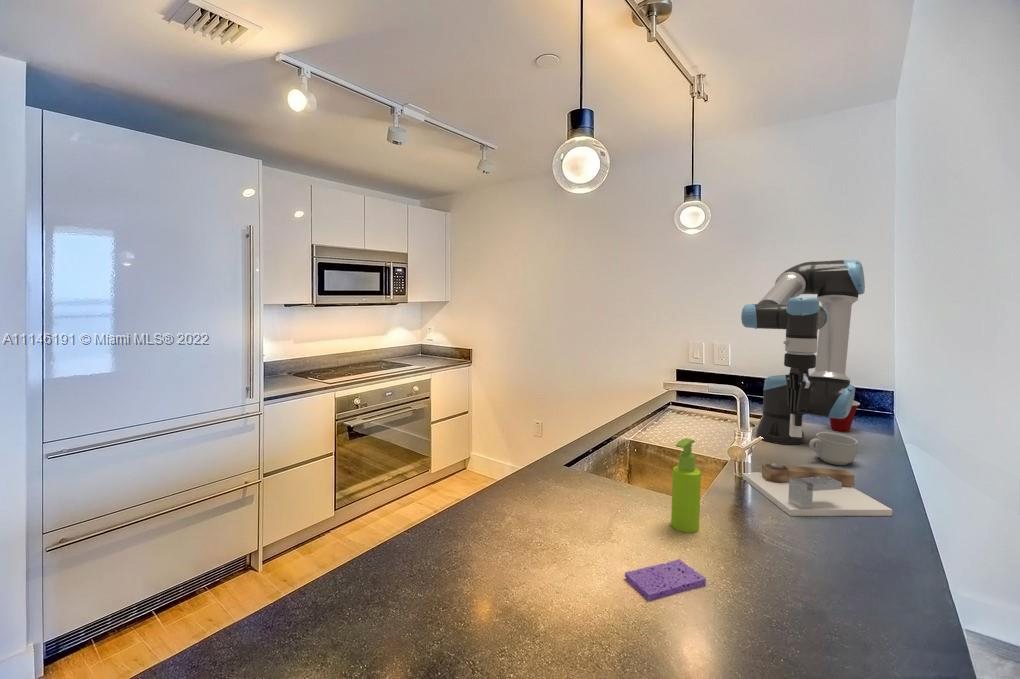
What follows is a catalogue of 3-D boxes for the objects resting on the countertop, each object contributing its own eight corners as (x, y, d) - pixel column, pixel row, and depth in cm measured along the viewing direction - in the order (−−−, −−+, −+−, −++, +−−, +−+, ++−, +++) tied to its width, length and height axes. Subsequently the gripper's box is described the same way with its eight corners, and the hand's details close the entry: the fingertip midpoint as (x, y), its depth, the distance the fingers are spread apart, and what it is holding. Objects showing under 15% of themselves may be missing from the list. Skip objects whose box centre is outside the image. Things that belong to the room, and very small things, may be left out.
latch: (767, 481, 126) (767, 467, 126) (760, 473, 132) (761, 460, 131) (855, 487, 122) (856, 473, 121) (844, 479, 127) (845, 466, 127)
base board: (741, 477, 134) (741, 472, 133) (825, 477, 133) (825, 472, 133) (789, 515, 110) (790, 509, 110) (892, 515, 110) (892, 509, 110)
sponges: (706, 588, 84) (706, 578, 84) (647, 604, 79) (648, 593, 79) (679, 567, 90) (679, 558, 90) (624, 581, 86) (624, 571, 86)
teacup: (842, 456, 151) (844, 432, 150) (864, 468, 140) (866, 442, 140) (797, 455, 152) (798, 431, 152) (815, 467, 142) (817, 441, 141)
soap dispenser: (664, 527, 104) (666, 440, 103) (678, 517, 109) (681, 434, 107) (689, 537, 100) (692, 446, 98) (703, 526, 105) (706, 439, 103)
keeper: (787, 507, 114) (789, 478, 114) (826, 505, 116) (828, 476, 115) (800, 515, 110) (801, 485, 110) (839, 512, 112) (841, 482, 111)
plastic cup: (856, 435, 173) (858, 404, 172) (821, 430, 181) (823, 399, 180) (860, 429, 181) (862, 399, 180) (826, 424, 189) (828, 395, 188)
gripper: (777, 350, 137) (773, 429, 139) (794, 355, 124) (789, 442, 126) (805, 351, 135) (801, 431, 137) (825, 356, 123) (820, 444, 124)
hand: (795, 436), depth 132 cm, fingers closed
